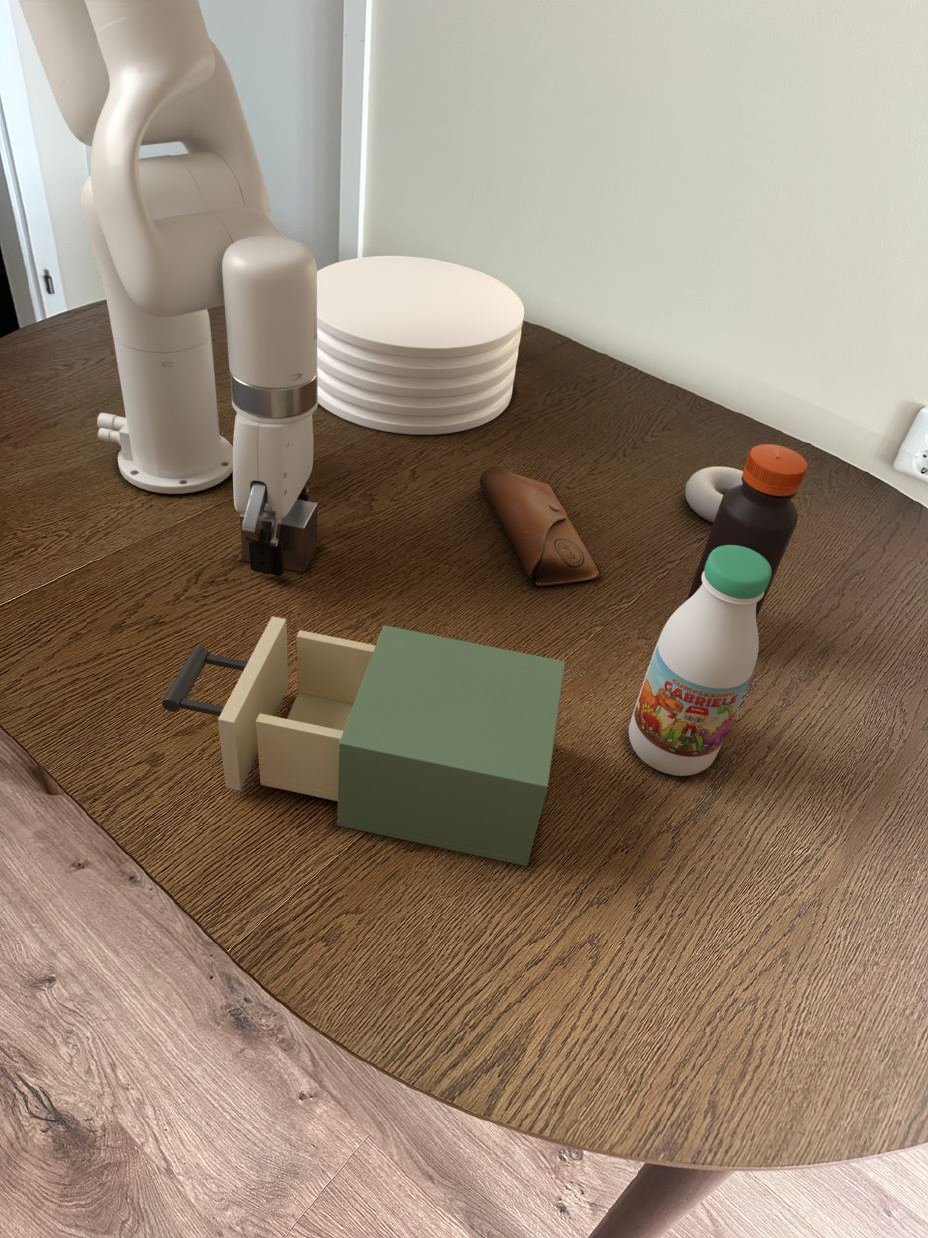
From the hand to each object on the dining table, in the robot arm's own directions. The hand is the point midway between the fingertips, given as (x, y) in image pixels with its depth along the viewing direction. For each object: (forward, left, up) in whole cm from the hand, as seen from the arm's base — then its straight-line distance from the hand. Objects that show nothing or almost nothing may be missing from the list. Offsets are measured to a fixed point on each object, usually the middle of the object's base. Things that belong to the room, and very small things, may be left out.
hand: (280, 547), depth 92 cm
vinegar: (+44, +1, -1) cm, 44 cm away
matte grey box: (0, 0, -1) cm, 1 cm away
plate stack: (+4, +41, -1) cm, 41 cm away
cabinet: (+22, -24, -1) cm, 32 cm away
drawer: (+10, -24, 0) cm, 26 cm away
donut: (+46, +24, -1) cm, 52 cm away
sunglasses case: (+25, +12, -1) cm, 28 cm away
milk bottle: (+40, -15, -1) cm, 43 cm away
